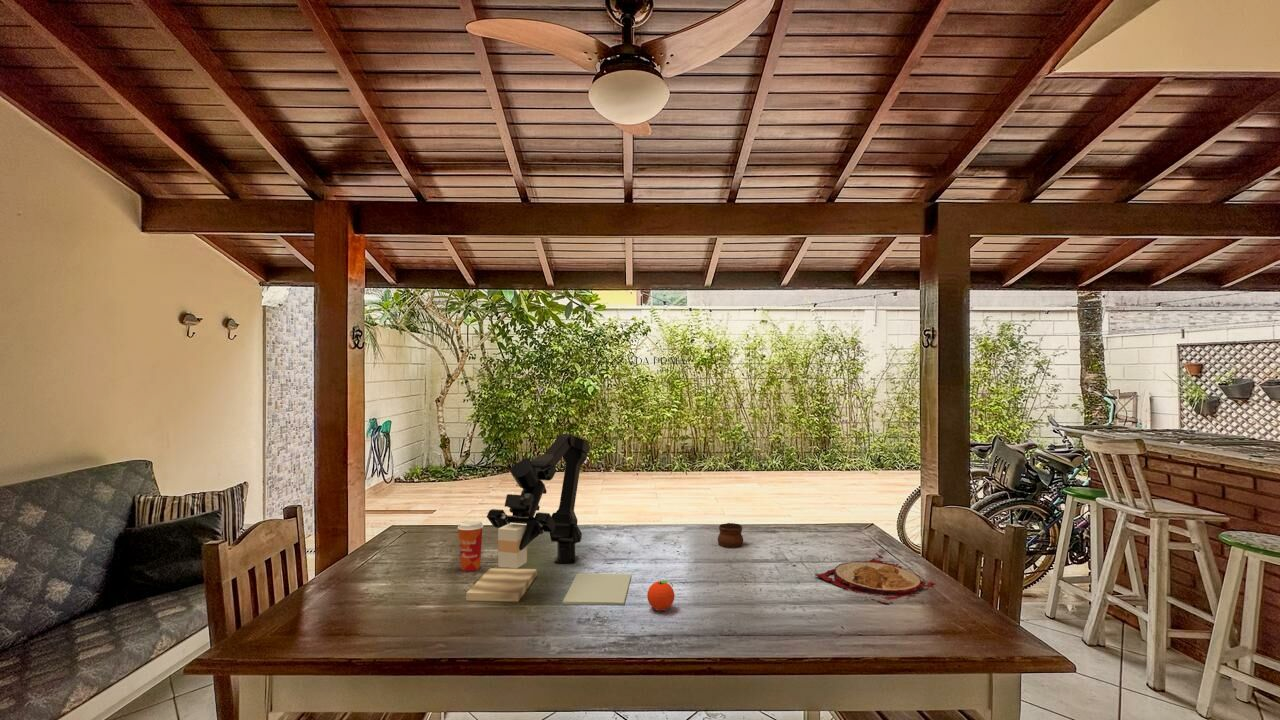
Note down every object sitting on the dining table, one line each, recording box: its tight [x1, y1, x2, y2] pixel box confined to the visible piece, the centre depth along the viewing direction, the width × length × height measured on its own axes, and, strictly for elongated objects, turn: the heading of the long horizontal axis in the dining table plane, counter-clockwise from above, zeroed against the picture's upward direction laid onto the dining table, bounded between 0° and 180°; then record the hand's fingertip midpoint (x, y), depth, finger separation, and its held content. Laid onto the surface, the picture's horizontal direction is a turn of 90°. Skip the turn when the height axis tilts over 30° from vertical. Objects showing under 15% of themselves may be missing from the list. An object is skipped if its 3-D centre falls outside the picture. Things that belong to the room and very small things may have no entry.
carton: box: [497, 523, 528, 569], centre depth 164 cm, size 6×6×10 cm
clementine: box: [646, 580, 675, 611], centre depth 155 cm, size 8×7×7 cm
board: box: [465, 567, 538, 602], centre depth 171 cm, size 20×14×2 cm
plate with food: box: [814, 553, 937, 605], centre depth 173 cm, size 25×26×4 cm
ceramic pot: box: [717, 522, 744, 549], centre depth 211 cm, size 18×18×7 cm
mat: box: [562, 572, 632, 606], centre depth 169 cm, size 22×16×1 cm
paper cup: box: [457, 519, 484, 572], centre depth 188 cm, size 8×8×14 cm
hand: (510, 548), depth 162 cm, fingers closed on carton, 6 cm apart
